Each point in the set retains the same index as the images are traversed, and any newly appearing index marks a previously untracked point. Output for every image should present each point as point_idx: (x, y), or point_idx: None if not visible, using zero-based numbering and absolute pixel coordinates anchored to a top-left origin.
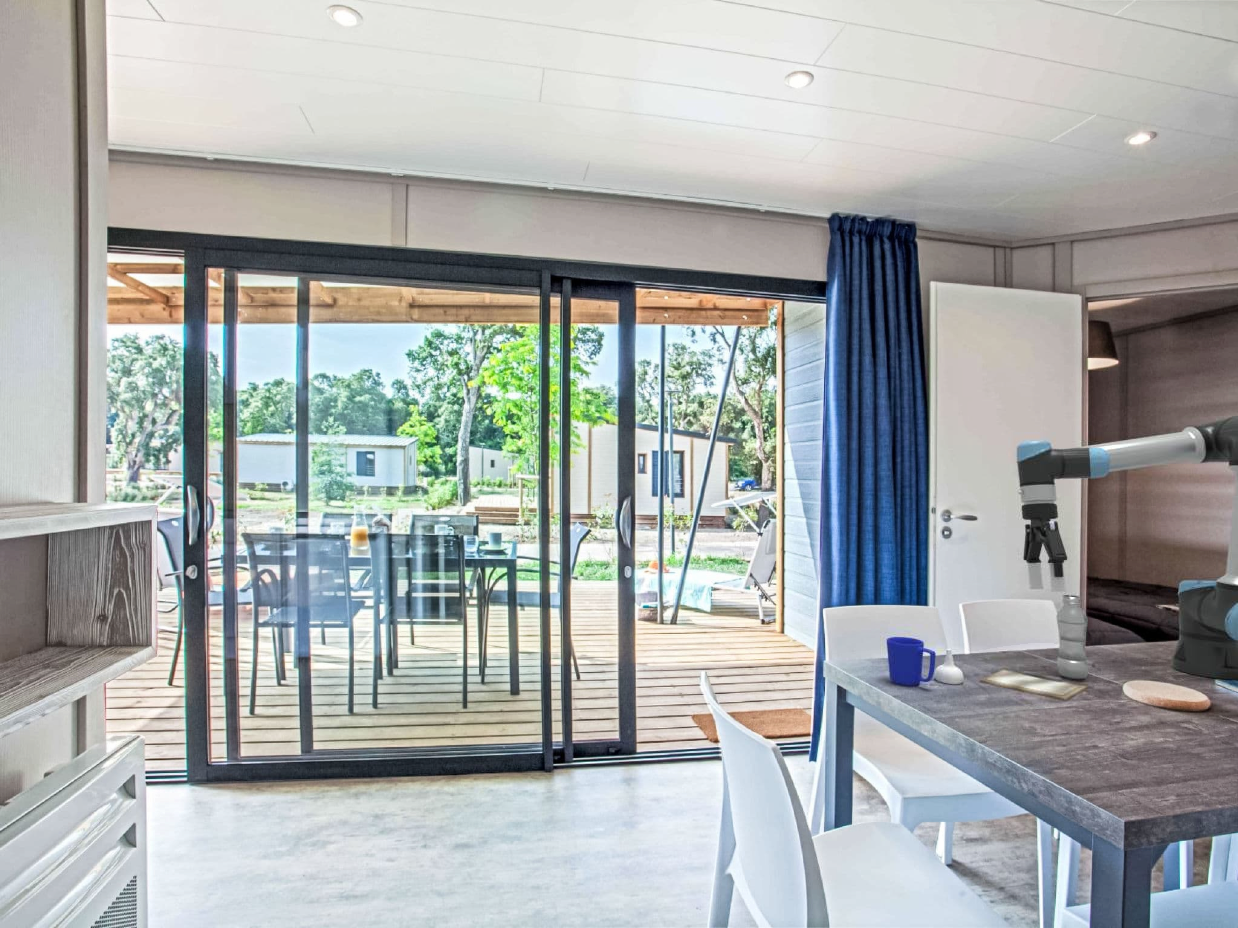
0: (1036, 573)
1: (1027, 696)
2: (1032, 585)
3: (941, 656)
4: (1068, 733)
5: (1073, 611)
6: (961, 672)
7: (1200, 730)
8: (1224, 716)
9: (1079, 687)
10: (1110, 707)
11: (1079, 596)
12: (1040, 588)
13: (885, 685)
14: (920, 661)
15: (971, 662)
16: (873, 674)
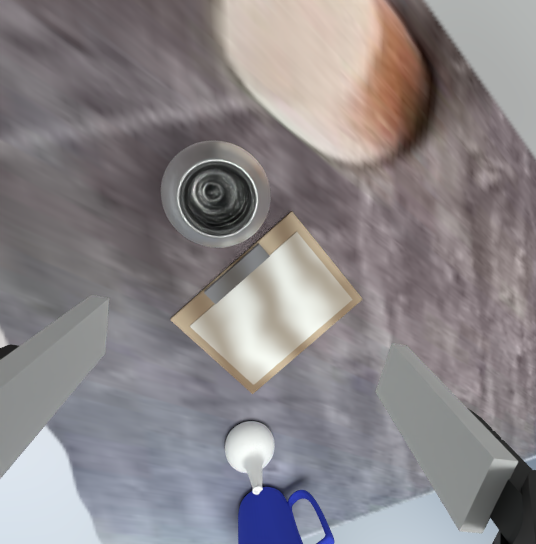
0: (54, 373)
1: (336, 348)
2: (96, 356)
3: None
4: (482, 368)
5: (257, 214)
6: (264, 437)
7: (504, 174)
8: (460, 61)
9: (299, 232)
10: (397, 242)
11: (227, 160)
12: (107, 310)
13: None
14: (296, 529)
15: None
16: (214, 537)
